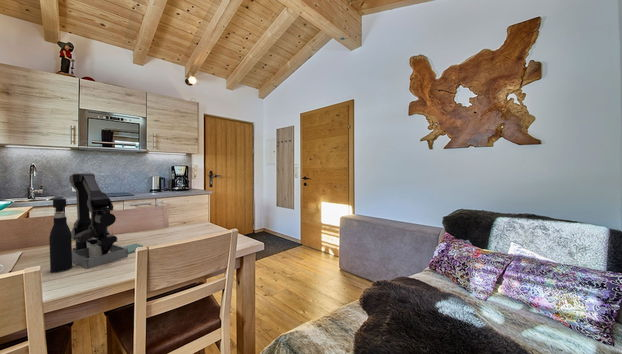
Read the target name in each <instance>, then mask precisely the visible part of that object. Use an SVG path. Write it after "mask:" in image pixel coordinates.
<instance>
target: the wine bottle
mask: <svg viewBox="0 0 622 354" xmlns="http://www.w3.org/2000/svg"><path fill="white" fill-rule="evenodd" d="M65 207H67V198H55V199H54V198H53V199H52V208H54V209H55V212H54V216H53V226H52V227H51V230H50V232H49V239H48V240H49V272H50V273H55V274H56V273H61V272H65V271H68V270H70V269H72V268H73V262H72V251H73V247H72V241H73V239H71V231H72V230H71V229H70V227H69V225H68V222H67V215H66V212H65Z"/></svg>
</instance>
